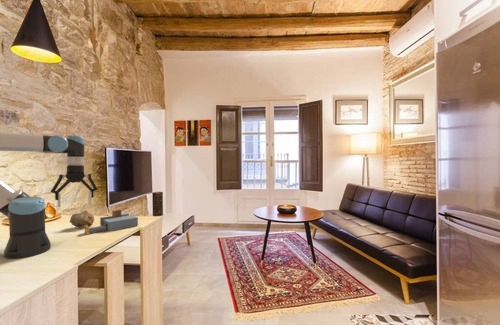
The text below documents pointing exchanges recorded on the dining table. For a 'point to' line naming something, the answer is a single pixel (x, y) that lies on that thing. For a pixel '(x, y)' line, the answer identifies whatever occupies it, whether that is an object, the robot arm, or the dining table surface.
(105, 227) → the lock pin
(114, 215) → the peg
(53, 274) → the dining table surface
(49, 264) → the dining table surface
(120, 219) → the dock block
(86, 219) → the rock
